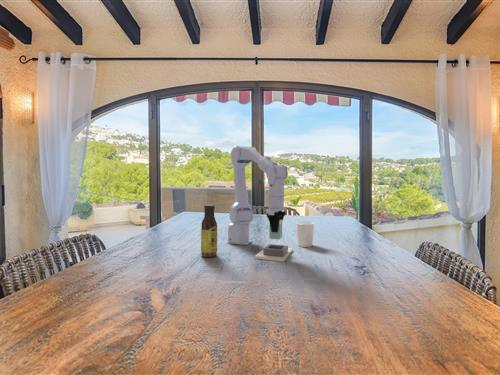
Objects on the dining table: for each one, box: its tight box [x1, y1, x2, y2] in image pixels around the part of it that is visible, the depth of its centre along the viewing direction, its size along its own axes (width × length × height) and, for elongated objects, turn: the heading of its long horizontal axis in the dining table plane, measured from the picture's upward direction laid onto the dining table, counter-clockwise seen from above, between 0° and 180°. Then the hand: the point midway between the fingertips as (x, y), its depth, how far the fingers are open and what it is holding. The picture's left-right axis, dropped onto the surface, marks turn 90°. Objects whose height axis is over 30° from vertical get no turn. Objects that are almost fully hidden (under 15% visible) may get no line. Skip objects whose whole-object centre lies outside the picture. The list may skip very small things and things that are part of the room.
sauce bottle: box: [200, 204, 218, 258], centre depth 119 cm, size 7×6×20 cm
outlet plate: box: [254, 243, 294, 262], centre depth 122 cm, size 11×16×4 cm
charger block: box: [268, 220, 283, 240], centre depth 119 cm, size 4×4×7 cm
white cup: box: [295, 221, 315, 248], centre depth 136 cm, size 8×8×10 cm
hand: (276, 231), depth 119 cm, fingers closed on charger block, 4 cm apart
